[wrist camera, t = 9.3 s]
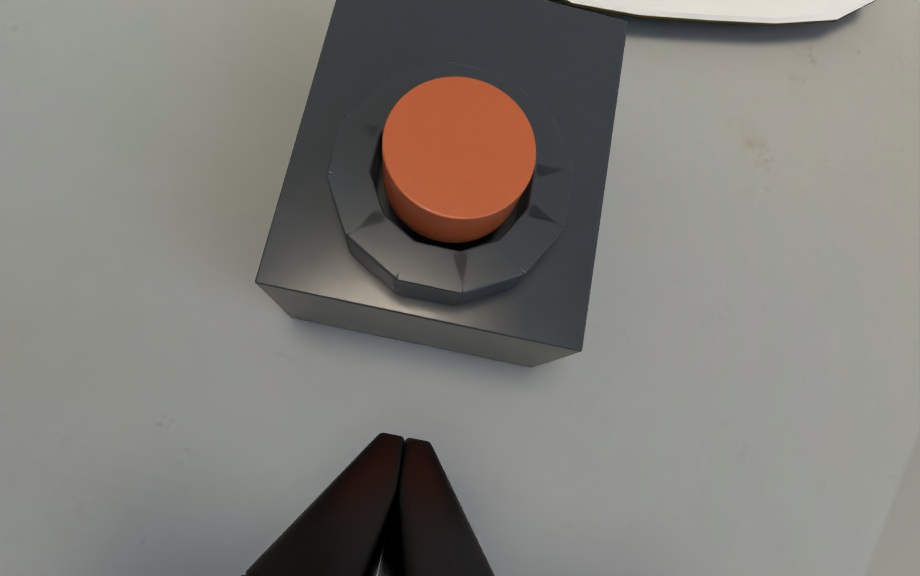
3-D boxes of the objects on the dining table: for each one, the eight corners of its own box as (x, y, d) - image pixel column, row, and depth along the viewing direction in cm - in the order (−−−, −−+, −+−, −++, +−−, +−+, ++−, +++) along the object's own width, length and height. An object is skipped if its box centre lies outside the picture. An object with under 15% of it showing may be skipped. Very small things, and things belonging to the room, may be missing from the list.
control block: (532, 367, 23) (603, 344, 15) (290, 317, 22) (237, 267, 15) (573, 111, 26) (651, -17, 18) (359, 59, 25) (346, -97, 18)
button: (506, 257, 16) (523, 234, 14) (368, 226, 16) (365, 199, 14) (529, 132, 17) (547, 95, 15) (399, 101, 17) (400, 59, 15)
